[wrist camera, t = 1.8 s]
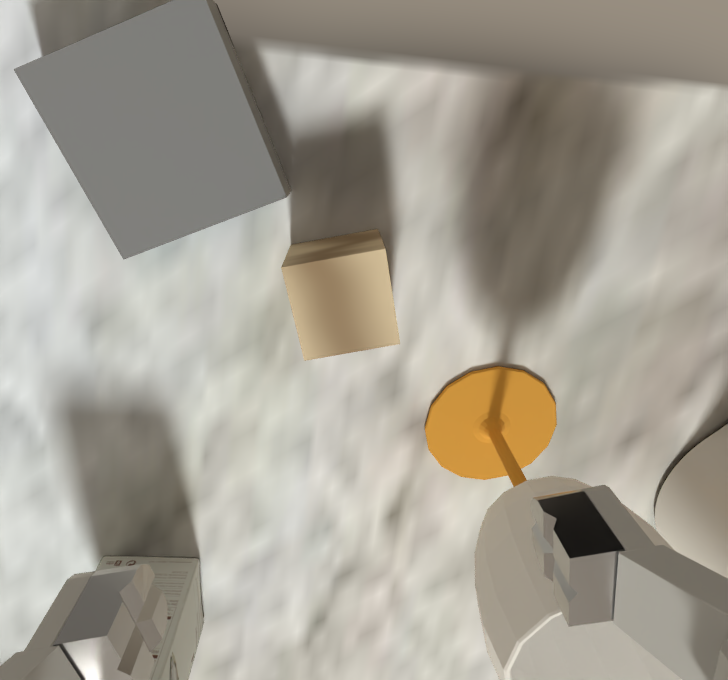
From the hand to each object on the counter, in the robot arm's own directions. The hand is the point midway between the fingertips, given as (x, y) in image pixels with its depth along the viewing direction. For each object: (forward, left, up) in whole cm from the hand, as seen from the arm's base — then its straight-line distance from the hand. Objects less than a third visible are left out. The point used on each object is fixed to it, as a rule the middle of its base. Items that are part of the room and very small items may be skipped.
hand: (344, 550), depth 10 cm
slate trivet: (+7, -9, -20) cm, 23 cm away
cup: (-8, +12, -20) cm, 25 cm away
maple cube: (0, 0, -20) cm, 20 cm away
